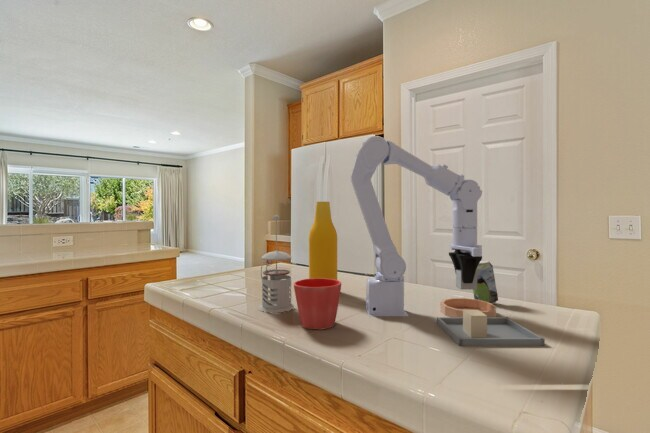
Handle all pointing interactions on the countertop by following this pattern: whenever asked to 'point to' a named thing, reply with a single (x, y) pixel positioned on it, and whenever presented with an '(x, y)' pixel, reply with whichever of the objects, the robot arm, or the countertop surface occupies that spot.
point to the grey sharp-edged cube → (465, 285)
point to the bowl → (466, 307)
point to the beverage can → (485, 283)
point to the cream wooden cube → (475, 323)
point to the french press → (276, 283)
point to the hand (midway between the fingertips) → (464, 281)
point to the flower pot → (317, 302)
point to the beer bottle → (323, 244)
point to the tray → (491, 333)
